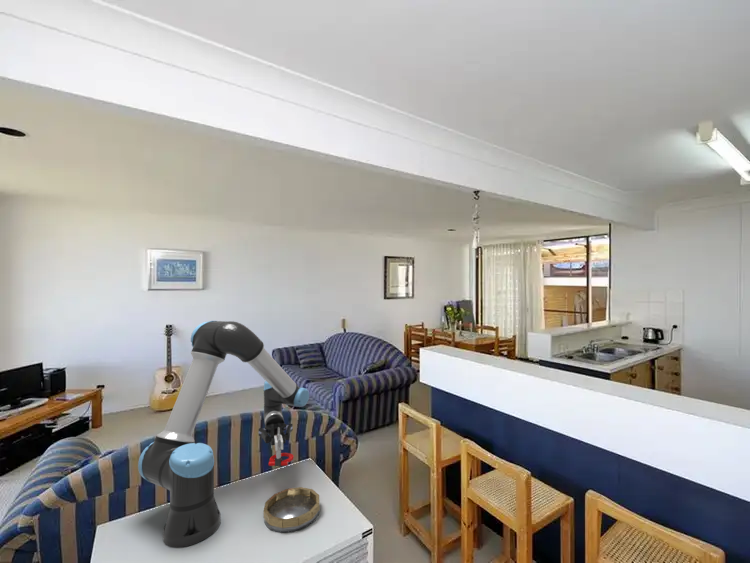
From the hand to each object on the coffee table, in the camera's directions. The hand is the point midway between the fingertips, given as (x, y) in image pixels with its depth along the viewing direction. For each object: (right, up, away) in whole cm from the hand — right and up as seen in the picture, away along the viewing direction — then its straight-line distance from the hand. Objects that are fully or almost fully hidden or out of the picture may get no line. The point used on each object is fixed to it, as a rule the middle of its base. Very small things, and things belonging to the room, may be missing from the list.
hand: (279, 446), depth 118 cm
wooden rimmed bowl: (+7, -17, -10) cm, 21 cm away
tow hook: (-1, -8, +5) cm, 9 cm away
